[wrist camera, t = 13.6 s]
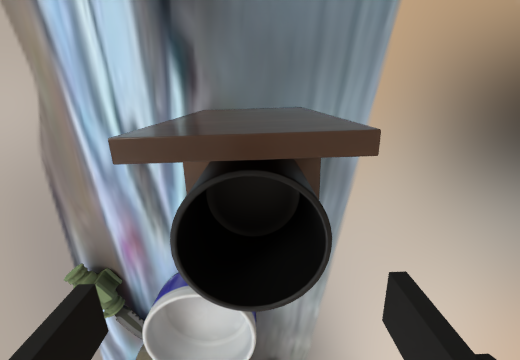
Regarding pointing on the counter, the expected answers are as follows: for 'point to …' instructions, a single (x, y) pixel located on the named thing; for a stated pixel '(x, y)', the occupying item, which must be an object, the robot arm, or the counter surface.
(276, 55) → the counter surface
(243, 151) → the shelf
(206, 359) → the dog bowl
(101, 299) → the knife
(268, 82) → the counter surface
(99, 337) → the robot arm
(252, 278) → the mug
